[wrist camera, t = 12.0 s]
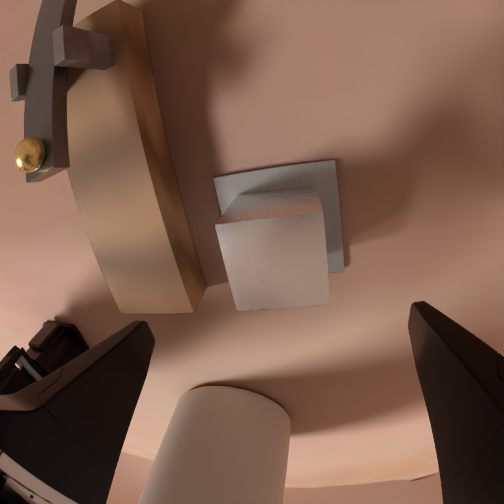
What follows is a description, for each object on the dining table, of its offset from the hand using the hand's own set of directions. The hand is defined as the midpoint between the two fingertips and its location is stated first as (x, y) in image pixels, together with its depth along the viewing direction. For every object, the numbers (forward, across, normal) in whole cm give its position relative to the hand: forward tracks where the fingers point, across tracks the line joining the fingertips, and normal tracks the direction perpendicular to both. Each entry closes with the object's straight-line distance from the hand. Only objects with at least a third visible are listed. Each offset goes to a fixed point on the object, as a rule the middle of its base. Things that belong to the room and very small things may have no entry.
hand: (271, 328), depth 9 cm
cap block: (+9, 0, 0) cm, 9 cm away
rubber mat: (+10, 0, 0) cm, 10 cm away
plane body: (+10, +9, -6) cm, 14 cm away
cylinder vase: (+10, +8, +21) cm, 25 cm away
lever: (+4, +9, -12) cm, 16 cm away
